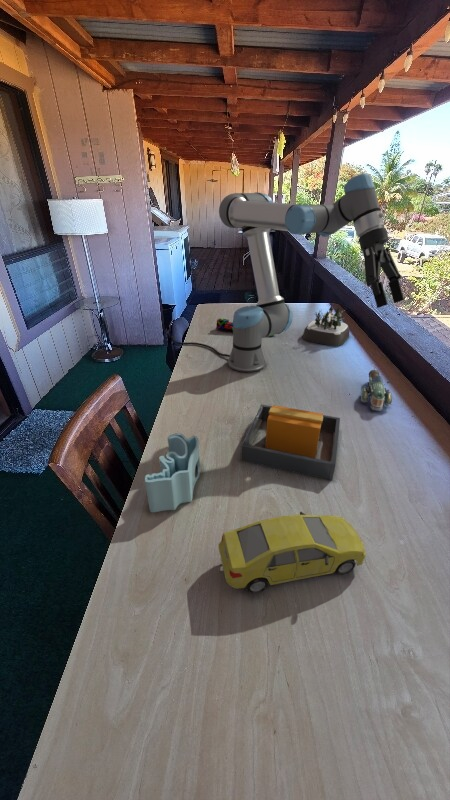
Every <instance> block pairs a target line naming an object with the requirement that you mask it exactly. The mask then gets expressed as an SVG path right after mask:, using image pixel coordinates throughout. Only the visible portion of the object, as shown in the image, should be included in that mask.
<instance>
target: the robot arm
mask: <svg viewBox="0 0 450 800" xmlns="http://www.w3.org/2000/svg"><path fill="white" fill-rule="evenodd" d="M343 190H344V195H342V196H341V197H340V198H338V199H337V200H336V201H335V202H333V203H324V204H323V203H322V204H303V203H301V204H300V203H287V202H285V203H284V202H274V200H273V199H272V197H271V196H269V194H266V193H263V192H258V191H257V192H240V193H239V192H234V193H229V194H228V195H226V196H225V197H224V198H223V199H222V200H221V201H220V204H219V208H218V215H219V216H218V217H219V219H220V221H221V223H223V225H224V226H225V227H227V228H230V229H241V234H242V236H243V237H244V238H246V239H247V244H248V249H249V255H250V262H251V265H252V272H253V277H254V281H255V287H256V292H257V298H258V301H257V302H256V304H255V305H250V306H249V305H245V306H242V307H239V308H238V309H236V310H235V311H234V313H233V316H232V323H233V330H232V349H231V351H230V354H227V353H222V352H219V351H218V350H217V349H216V348H214V347H212V346H210V345H208V344H205V343H201V342H194V341H193V342H192V341H191V342H183V341H177V340H175V338H174V335H170V336H169V339H171V340H172V341H173V343H175V344H177V345H195V346H201V347H205V348H208V349H209V350H212V351H213V352H215V353H216V354H217V355H219V356H222V357H227V358H228V360H227V361H228V363H227V365H228V367H229V368H230V369H232V370H233V371H236V372H241V373H253V372H258V371H261V370H262V369H264V368H265V365H266V359H265V355H264V352H263V348H262V343H263V339H264V338H268V337H272V336H271V335H274V336H275V335H278V334H281V333H283V332H284V333H285V332H286V331H287V330H289V329H290V327H291V325H292V324H293V318H294V317H293V315H294V314H293V311H292V308H291V307H290V306H289V304H287V303H285V298H284V297H283V296H281V295H280V291H279V284H278V279H277V278H278V277H277V273H276V268H275V262H274V256H273V250H272V244H271V238H270V231H272V230H276V231H282V232H283V231H285V232H289V233H290V234H292V235H300V236H304V235H307V234H315V233H316V234H318V235H319V236H322V237H323V238H327V237H329V236H331V235H333V234H336V233H337V232H338V231H339V230H341V229H343V228H344V227H346V226H347V225H349V224H350V223H353V226H354V229H355V234H356V237H357V238H358V243H359V244H358V245H359V247H360V250H361V251H362V254H363V260H364V274H365V283H366V286H367V287H370V288H371V291H372V294H373V297H374V302H375V304H376V309H379V308H382V307H384V306H388V305H389V303H388V300H387V295H386V293H385V289H384V285H383V282H382V281H381V270H382V271H383V273H384V274H385V276H386V278H387V279H388V286H389V290H390V294H391V297H392V301H393V303H394V304H396V303H399V302H403V301H405V297H404V294H403V291H402V288H401V284H400V280H399V279H402V275H401V274H400V271H399V270H398V266H397V265H396V262H395V260H394V258H393V256H392V253H391V250H390V248H389V247H388V246H387V247H384V244H385V243H387V242H388V241H389V235H388V231H387V228H386V227H384V226H385V221H384V216H385V213H383V212H382V211H381V207H380V203H379V198H378V195H377V191H376V186H375V184H374V181H373V178H372V176H371V174H370V173H365V172H364V173H360V174H357V175H355V176H353V177H351V178H350V179H348V180H347V181H346V182H345V184H344V186H343Z"/></svg>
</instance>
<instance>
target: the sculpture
mask: <svg viewBox="0 0 450 800" xmlns="http://www.w3.org/2000/svg"><path fill="white" fill-rule="evenodd" d="M215 329H216V330H219V331H227V330H232V331H233V321H230V320H229V319H226V318H221V317H220V318H218V319H217V320H216V328H215ZM274 336H275V335H271V336H270V337H274Z"/></svg>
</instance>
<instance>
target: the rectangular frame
mask: <svg viewBox="0 0 450 800" xmlns="http://www.w3.org/2000/svg"><path fill="white" fill-rule="evenodd" d="M271 407H273V405H266V404H261V405H260V406H259V408H258V411H257V412H256V414H255V416H254V418H253V421H252V423H251V425H250V427H249V430H248V431H247V434H246V435H245V438H244V440H243V442H242V445H241V457H240V458H241V459H240V460H241V461H243V462H247V463H251V464H256V465H261V466H266V467H270V468H275V469H279V470H284V471H289V472H294V473H297V474H302V475H307V476H311V477H315V478H321V479H324V480H329V481H333V479H334V475H335V470H336V464H337V454H338V443H339V433H340V423H341V417H337V416H331V415H325V414H323V421H322V423H321V429H320V431H322V432H328V433H333V436H332V445H331V452H330V460H329V461H328V460H323V459H318V458H312V457H307V456H302V455H297V454H292V453H287V452H282V451H278V450H273V449H268V448H265V447H260V446H257V445H256V446H255V445H253V443H254V441H255V439H256V436H257V434H258V432H259V429H260V427H261V425H262V423H263V421H267V419H268V417H269V410H270V408H271Z"/></svg>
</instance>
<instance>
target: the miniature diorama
mask: <svg viewBox="0 0 450 800" xmlns="http://www.w3.org/2000/svg"><path fill="white" fill-rule="evenodd" d="M343 312H344V310H340V306H338V307H337V308H336V310H335V311H334V307H333V305H331V306H330V307H329V308H328V310H327V311H326V312H325V313H323V312H322V309H320V310H319V311H318V312H317V311H316V312H314V316H315V319H314V320H312V321H310V322H309V323H308V324H307V326H306V327H305V328H304V330H303V334H302V340H304V341H307V342H311V343H315V344H320V345H324V346H330V347H339V346H340V347H341V346H343V345H344V344H345V343H346V342H347V341H348V340H349V338H350V333H351V332H350V327H349V325H348V324H347V323H345V322H342V321H344V318H345V314H346V312H344V313H343ZM342 313H343V314H344V315H343V314H342Z"/></svg>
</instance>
